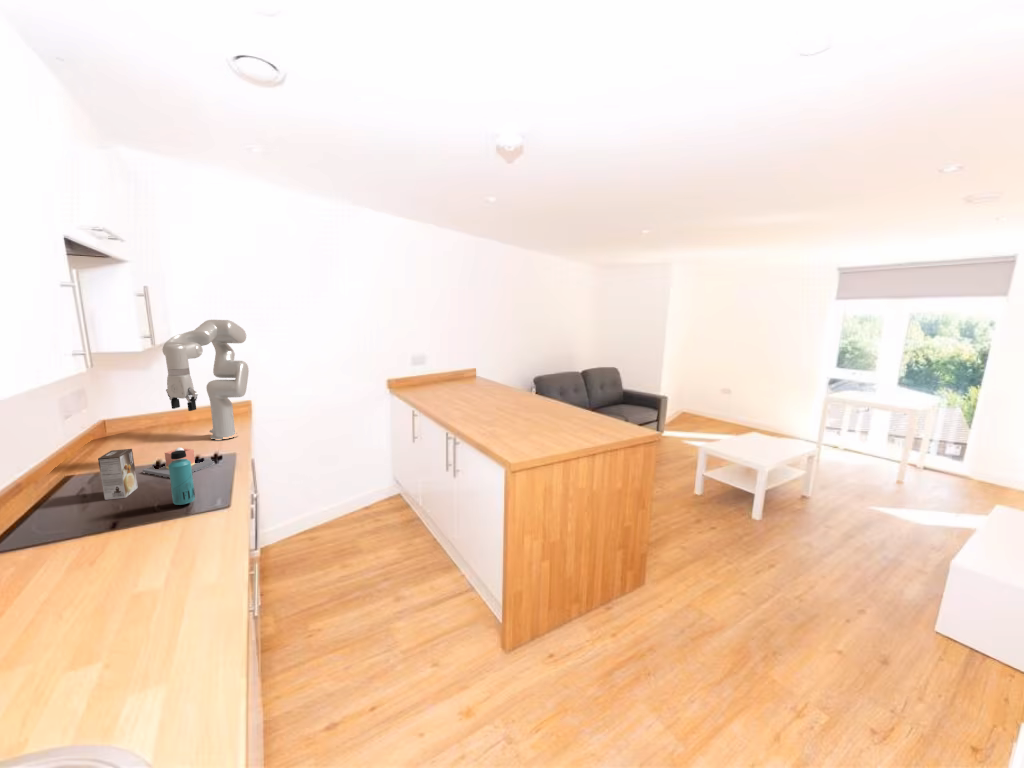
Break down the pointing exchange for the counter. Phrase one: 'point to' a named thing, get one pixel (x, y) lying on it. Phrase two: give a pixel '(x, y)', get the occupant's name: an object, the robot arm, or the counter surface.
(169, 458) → the collar
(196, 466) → the post board
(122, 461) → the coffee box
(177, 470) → the beverage bottle
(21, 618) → the counter surface
